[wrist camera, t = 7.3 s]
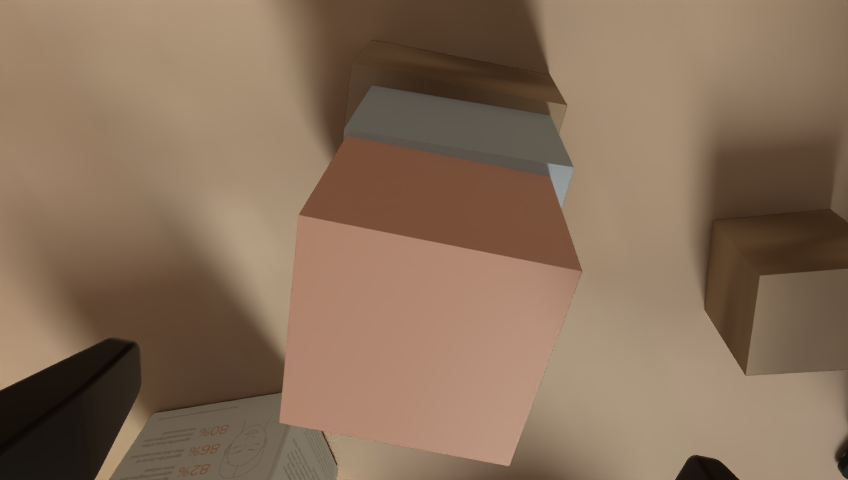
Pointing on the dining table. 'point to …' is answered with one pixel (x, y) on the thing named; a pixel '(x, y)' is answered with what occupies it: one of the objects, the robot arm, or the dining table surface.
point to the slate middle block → (464, 132)
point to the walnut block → (781, 291)
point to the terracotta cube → (425, 300)
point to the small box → (227, 445)
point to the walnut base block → (451, 80)
